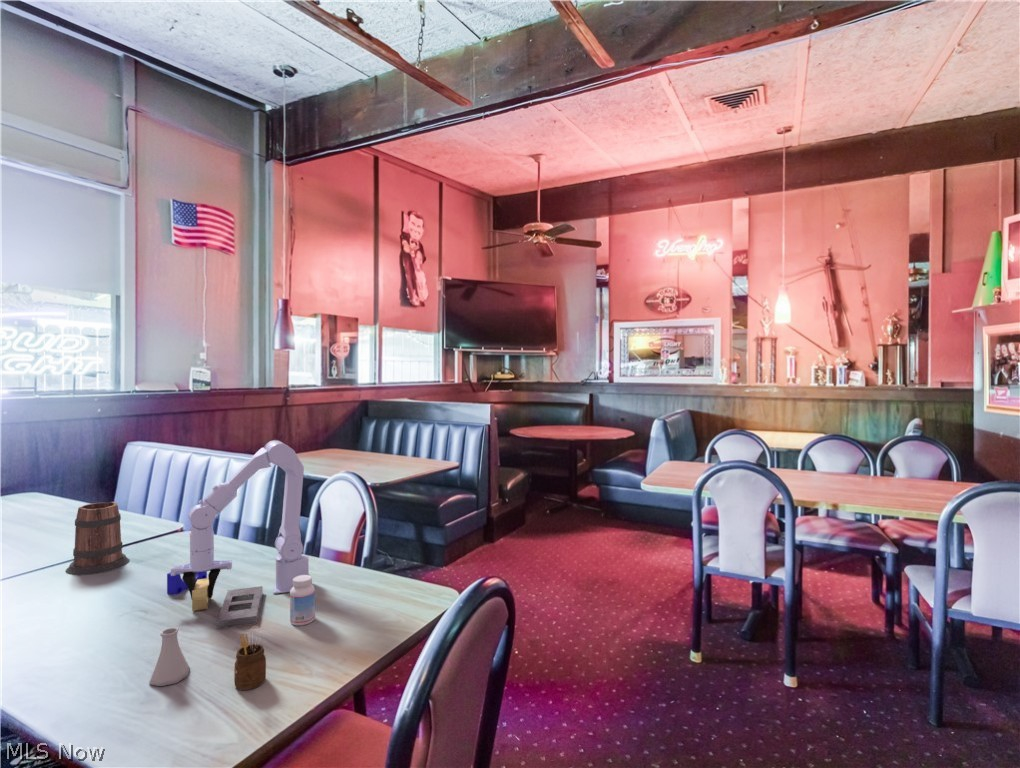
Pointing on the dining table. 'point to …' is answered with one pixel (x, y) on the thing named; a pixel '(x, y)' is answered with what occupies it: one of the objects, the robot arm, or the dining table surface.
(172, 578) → the cable clip
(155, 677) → the flask
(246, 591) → the gray rectangular plate
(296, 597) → the pill bottle
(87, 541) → the tankard
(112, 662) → the dining table surface
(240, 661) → the utensil holder
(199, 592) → the wooden toy block
